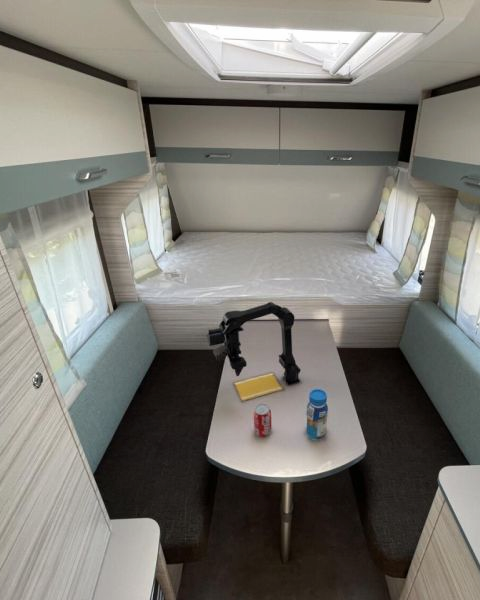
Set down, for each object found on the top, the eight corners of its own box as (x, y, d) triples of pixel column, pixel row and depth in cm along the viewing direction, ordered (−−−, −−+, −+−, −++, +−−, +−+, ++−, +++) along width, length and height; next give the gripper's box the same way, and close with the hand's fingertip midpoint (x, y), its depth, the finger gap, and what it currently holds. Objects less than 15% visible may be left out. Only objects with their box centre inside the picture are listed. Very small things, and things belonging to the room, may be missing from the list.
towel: (271, 373, 168) (271, 372, 168) (282, 389, 157) (282, 388, 156) (234, 383, 161) (234, 382, 161) (242, 401, 149) (242, 400, 149)
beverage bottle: (305, 424, 136) (306, 386, 128) (325, 425, 136) (328, 387, 128) (305, 441, 129) (307, 401, 120) (327, 441, 128) (330, 402, 120)
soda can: (274, 427, 135) (273, 405, 130) (267, 440, 129) (267, 417, 124) (258, 423, 137) (257, 401, 132) (251, 435, 131) (250, 413, 126)
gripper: (209, 334, 145) (212, 363, 151) (219, 355, 129) (222, 387, 136) (233, 329, 149) (235, 357, 156) (246, 349, 134) (247, 380, 140)
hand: (234, 370), depth 147 cm, fingers open, 9 cm apart
